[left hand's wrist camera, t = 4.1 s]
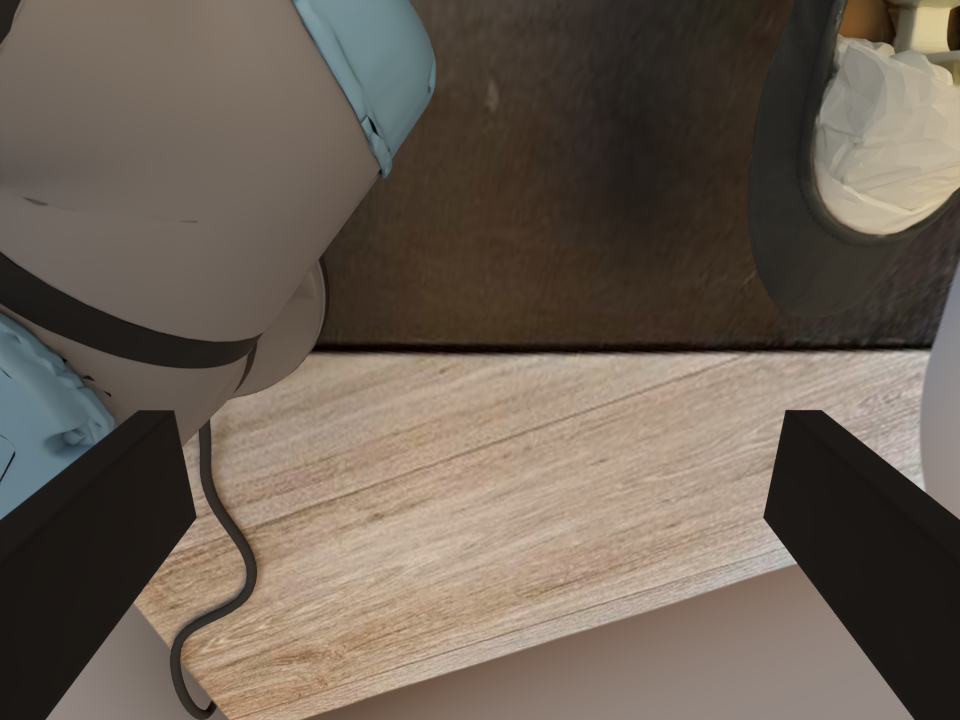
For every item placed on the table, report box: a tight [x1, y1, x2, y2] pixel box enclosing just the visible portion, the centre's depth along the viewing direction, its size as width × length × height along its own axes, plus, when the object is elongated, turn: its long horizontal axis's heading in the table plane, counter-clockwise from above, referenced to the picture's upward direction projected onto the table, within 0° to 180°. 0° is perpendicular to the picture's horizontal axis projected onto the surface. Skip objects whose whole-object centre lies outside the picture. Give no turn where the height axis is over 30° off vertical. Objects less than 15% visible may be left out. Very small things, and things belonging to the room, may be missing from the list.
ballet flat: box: [748, 0, 960, 318], centre depth 20 cm, size 8×24×8 cm, turn 0°
